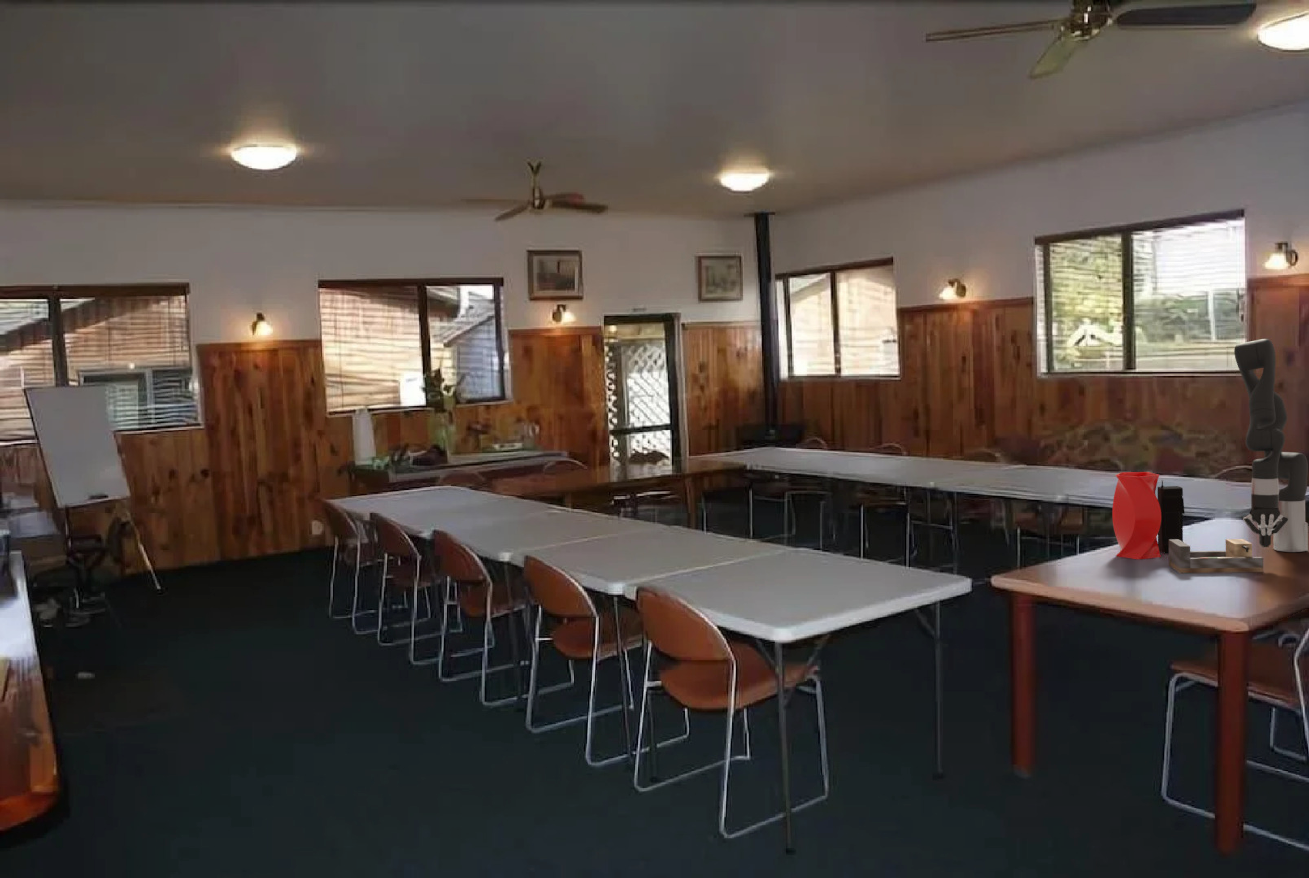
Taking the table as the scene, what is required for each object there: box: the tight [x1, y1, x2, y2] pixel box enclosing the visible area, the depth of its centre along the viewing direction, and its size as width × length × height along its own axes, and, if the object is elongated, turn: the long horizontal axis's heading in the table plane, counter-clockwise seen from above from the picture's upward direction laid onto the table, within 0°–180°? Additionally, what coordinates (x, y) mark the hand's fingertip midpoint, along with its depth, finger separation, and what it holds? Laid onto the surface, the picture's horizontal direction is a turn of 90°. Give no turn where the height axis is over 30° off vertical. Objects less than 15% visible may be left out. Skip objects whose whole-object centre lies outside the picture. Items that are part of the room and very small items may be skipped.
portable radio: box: [1157, 480, 1186, 554], centre depth 359 cm, size 8×6×25 cm
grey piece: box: [1168, 539, 1264, 574], centre depth 332 cm, size 24×12×8 cm, turn 79°
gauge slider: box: [1225, 538, 1253, 557], centre depth 328 cm, size 5×12×7 cm, turn 169°
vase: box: [1111, 471, 1162, 560], centre depth 357 cm, size 15×14×28 cm
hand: (1264, 546), depth 329 cm, fingers closed
